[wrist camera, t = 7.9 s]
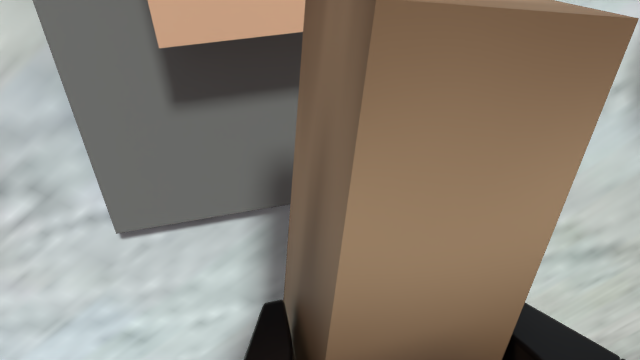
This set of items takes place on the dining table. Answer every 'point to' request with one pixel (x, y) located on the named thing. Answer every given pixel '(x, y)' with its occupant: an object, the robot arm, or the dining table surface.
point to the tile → (223, 20)
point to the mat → (176, 113)
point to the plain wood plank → (435, 167)
